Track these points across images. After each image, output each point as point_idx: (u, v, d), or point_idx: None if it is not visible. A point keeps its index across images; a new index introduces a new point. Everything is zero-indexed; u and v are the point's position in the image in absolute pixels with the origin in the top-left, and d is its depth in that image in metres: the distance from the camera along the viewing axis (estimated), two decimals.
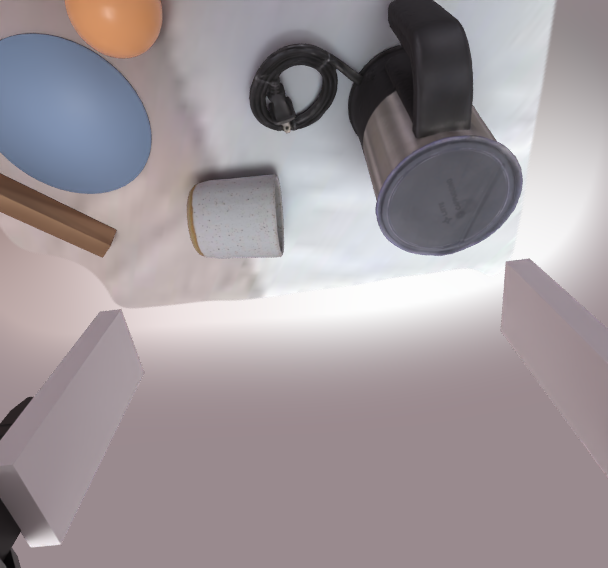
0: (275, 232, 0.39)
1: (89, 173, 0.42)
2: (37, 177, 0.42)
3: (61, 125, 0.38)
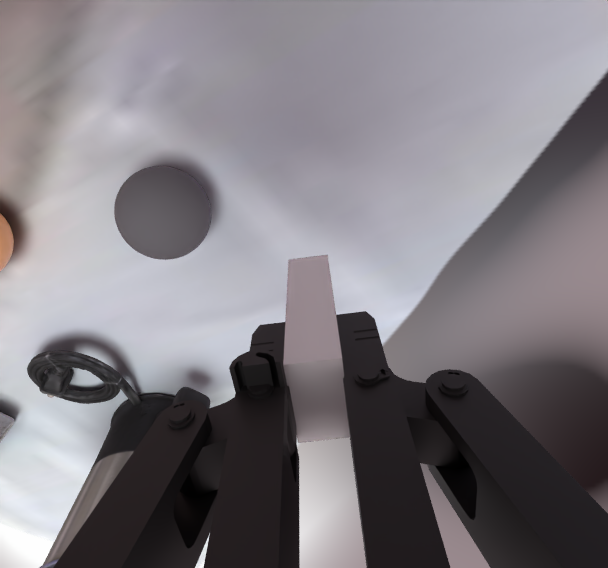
0: None
1: None
2: None
3: None
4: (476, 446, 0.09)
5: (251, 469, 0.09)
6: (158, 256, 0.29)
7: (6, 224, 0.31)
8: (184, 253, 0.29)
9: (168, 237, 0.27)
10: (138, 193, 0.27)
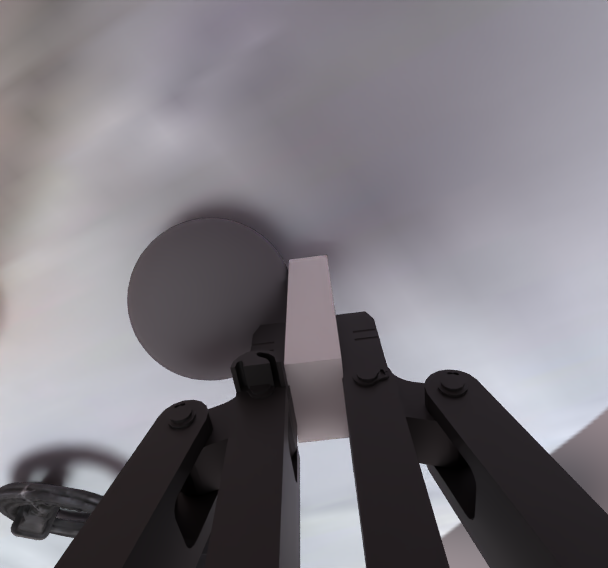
0: None
1: None
2: None
3: None
4: (475, 446, 0.09)
5: (252, 469, 0.09)
6: None
7: None
8: None
9: (216, 359, 0.15)
10: (169, 278, 0.14)
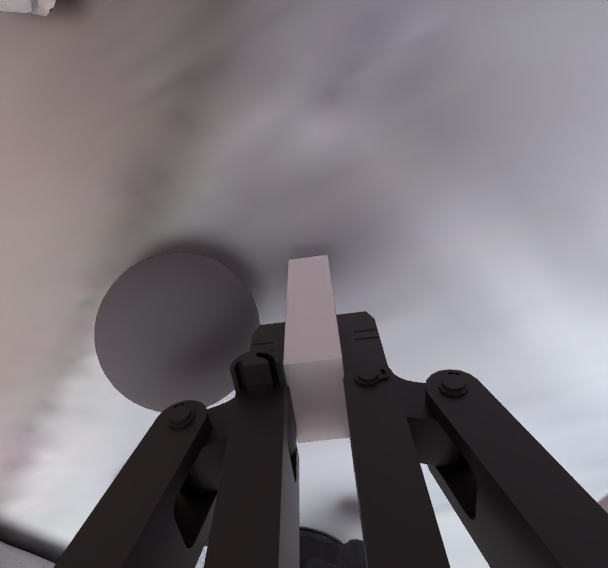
0: None
1: None
2: None
3: None
4: (476, 446, 0.09)
5: (251, 469, 0.09)
6: None
7: None
8: None
9: None
10: None
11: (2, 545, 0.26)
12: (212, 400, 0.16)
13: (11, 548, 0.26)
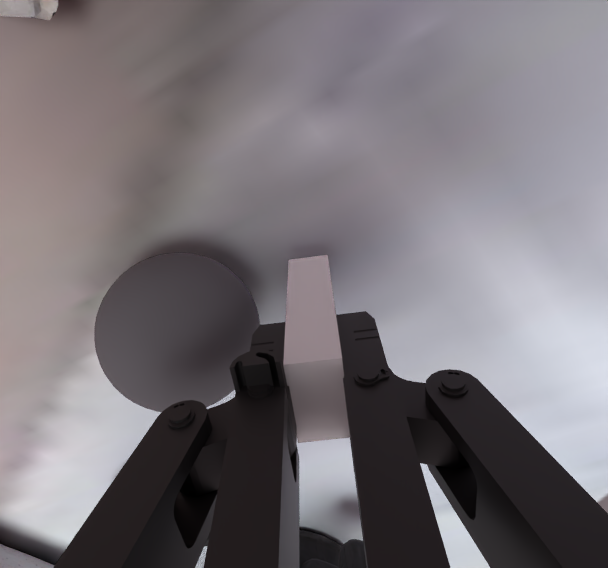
0: None
1: None
2: None
3: None
4: (476, 446, 0.09)
5: (251, 469, 0.09)
6: None
7: None
8: None
9: None
10: None
11: (0, 547, 0.26)
12: (212, 400, 0.16)
13: (9, 550, 0.27)
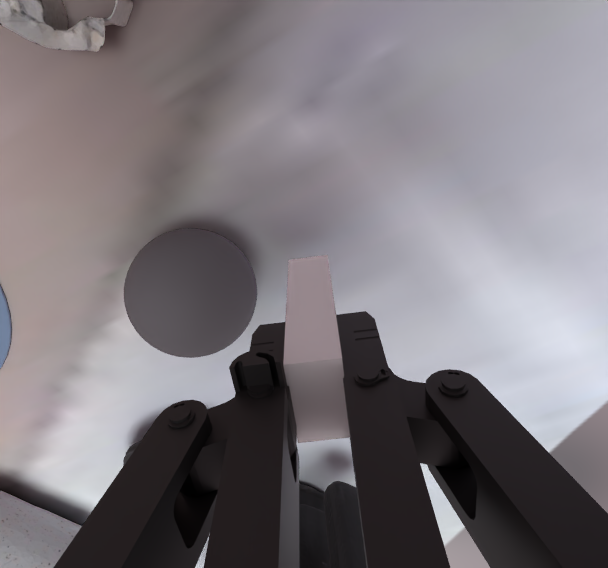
0: None
1: None
2: None
3: None
4: (476, 446, 0.09)
5: (251, 469, 0.09)
6: None
7: None
8: None
9: None
10: None
11: (25, 502, 0.30)
12: (219, 345, 0.20)
13: (32, 505, 0.30)
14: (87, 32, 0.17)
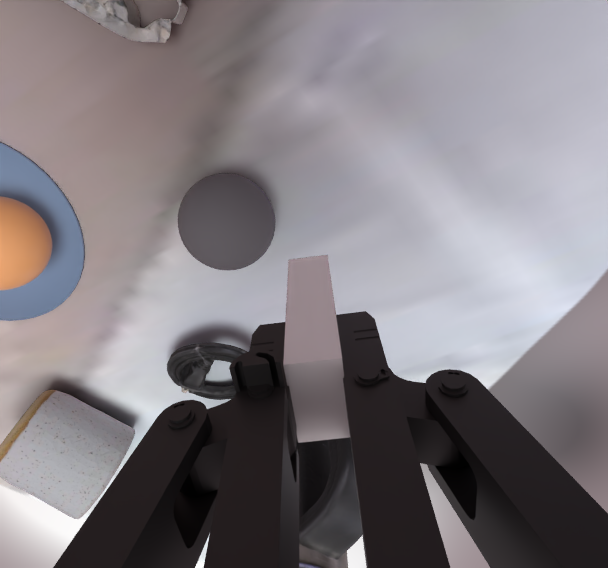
0: (91, 503, 0.34)
1: None
2: None
3: None
4: (476, 446, 0.08)
5: (251, 469, 0.09)
6: None
7: None
8: None
9: None
10: None
11: (86, 404, 0.38)
12: (248, 258, 0.27)
13: (92, 407, 0.38)
14: (158, 29, 0.24)
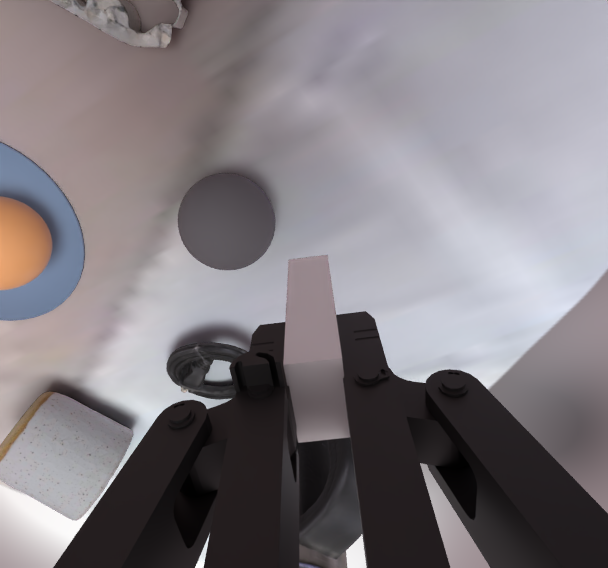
0: (90, 505, 0.34)
1: None
2: None
3: None
4: (476, 446, 0.09)
5: (251, 469, 0.09)
6: None
7: None
8: None
9: None
10: None
11: None
12: (248, 258, 0.27)
13: None
14: (159, 34, 0.24)
